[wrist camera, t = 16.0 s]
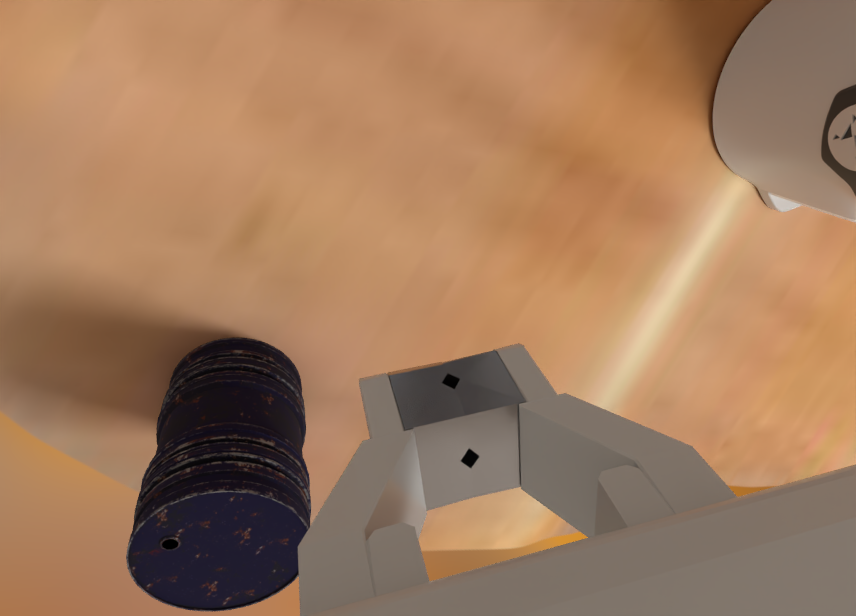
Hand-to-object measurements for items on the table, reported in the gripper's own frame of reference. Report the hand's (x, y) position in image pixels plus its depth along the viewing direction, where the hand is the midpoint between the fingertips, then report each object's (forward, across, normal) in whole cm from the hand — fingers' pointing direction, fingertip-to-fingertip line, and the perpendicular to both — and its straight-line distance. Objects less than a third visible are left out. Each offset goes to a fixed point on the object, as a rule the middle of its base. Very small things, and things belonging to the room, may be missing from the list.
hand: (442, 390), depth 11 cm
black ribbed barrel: (+30, +10, +20) cm, 38 cm away
